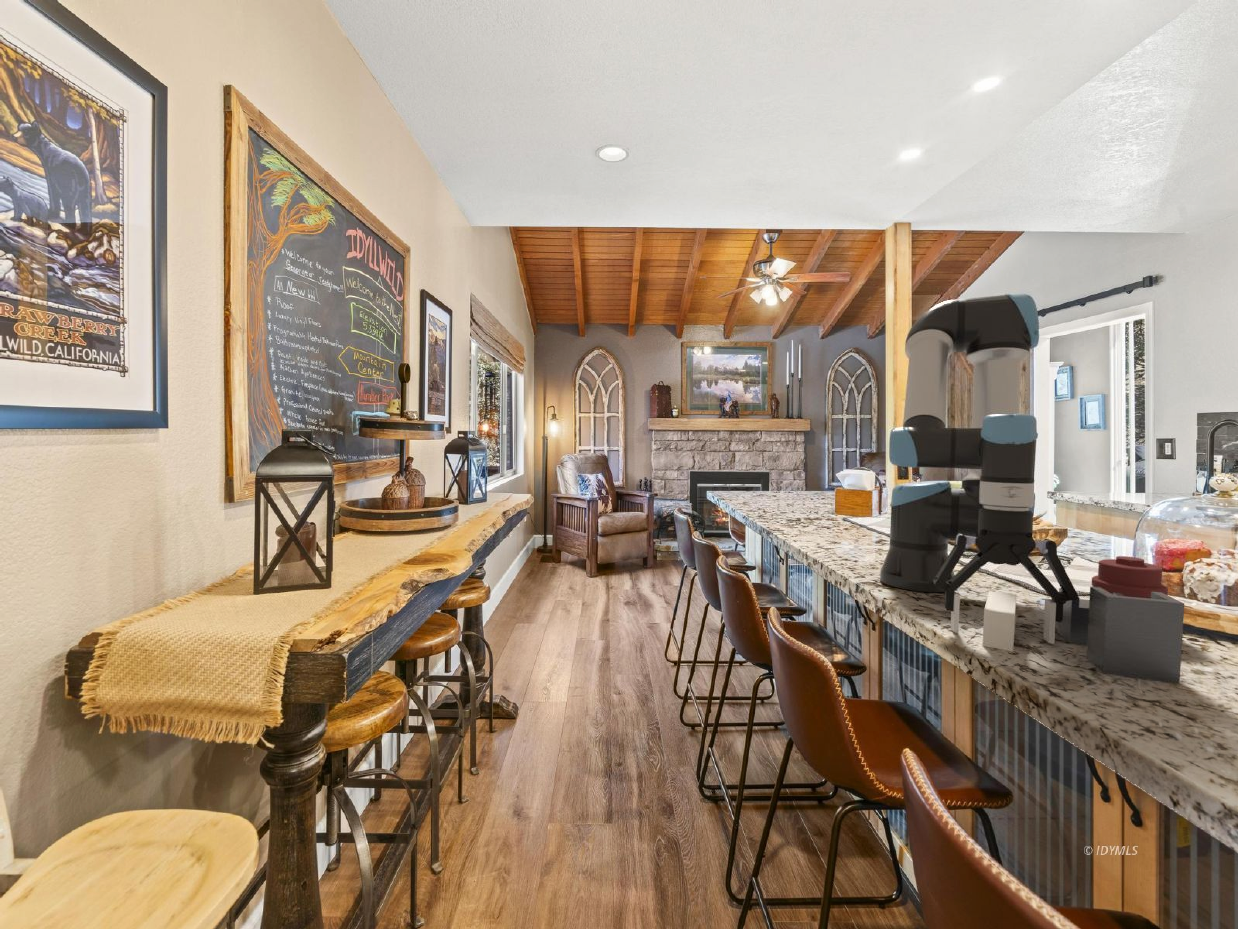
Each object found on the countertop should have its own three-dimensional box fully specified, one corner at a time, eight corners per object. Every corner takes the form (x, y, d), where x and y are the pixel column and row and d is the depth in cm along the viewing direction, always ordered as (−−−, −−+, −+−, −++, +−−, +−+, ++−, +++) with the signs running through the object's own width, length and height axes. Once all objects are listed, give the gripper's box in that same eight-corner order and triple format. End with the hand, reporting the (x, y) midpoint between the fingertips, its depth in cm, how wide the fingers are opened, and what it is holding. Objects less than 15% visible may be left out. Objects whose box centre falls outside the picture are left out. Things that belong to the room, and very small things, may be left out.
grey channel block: (1057, 631, 99) (1059, 587, 99) (1118, 638, 96) (1120, 593, 96) (1069, 643, 93) (1072, 596, 93) (1134, 650, 90) (1137, 602, 90)
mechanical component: (1139, 621, 105) (1180, 639, 96) (1077, 617, 107) (1111, 635, 98) (1143, 554, 105) (1185, 566, 95) (1080, 551, 107) (1115, 562, 97)
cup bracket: (1086, 658, 87) (1090, 586, 86) (1157, 667, 84) (1161, 592, 83) (1103, 673, 81) (1107, 596, 81) (1179, 683, 78) (1184, 603, 78)
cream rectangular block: (987, 624, 103) (989, 590, 103) (1014, 628, 101) (1016, 594, 101) (982, 646, 92) (984, 609, 92) (1012, 652, 90) (1014, 614, 89)
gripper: (924, 506, 96) (919, 632, 97) (1108, 514, 87) (1101, 653, 88) (918, 501, 103) (914, 619, 104) (1088, 509, 94) (1082, 638, 95)
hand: (1000, 635), depth 96 cm, fingers open, 13 cm apart
